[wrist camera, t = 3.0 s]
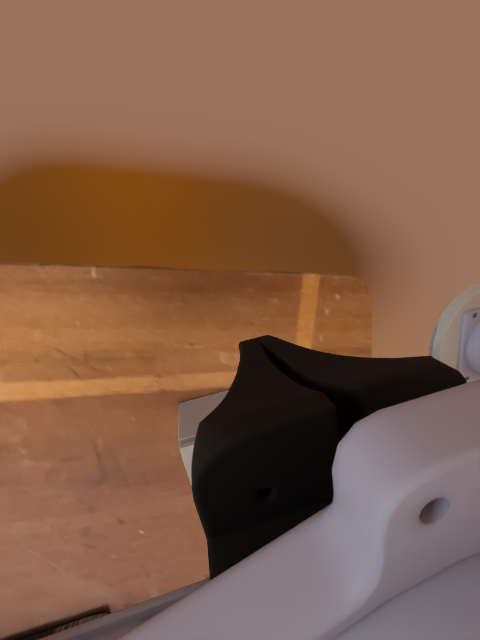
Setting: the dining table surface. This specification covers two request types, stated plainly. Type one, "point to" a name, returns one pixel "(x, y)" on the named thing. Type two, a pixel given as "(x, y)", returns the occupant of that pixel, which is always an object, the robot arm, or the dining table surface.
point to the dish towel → (64, 627)
